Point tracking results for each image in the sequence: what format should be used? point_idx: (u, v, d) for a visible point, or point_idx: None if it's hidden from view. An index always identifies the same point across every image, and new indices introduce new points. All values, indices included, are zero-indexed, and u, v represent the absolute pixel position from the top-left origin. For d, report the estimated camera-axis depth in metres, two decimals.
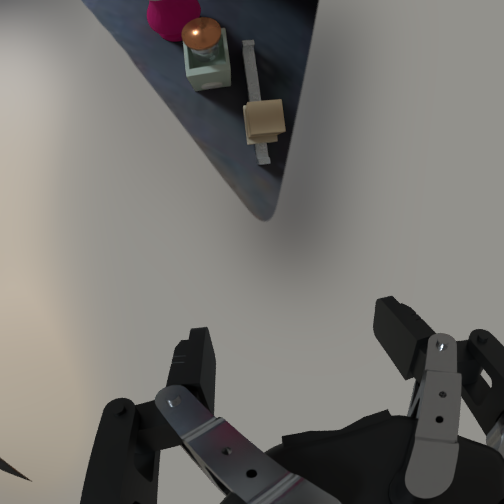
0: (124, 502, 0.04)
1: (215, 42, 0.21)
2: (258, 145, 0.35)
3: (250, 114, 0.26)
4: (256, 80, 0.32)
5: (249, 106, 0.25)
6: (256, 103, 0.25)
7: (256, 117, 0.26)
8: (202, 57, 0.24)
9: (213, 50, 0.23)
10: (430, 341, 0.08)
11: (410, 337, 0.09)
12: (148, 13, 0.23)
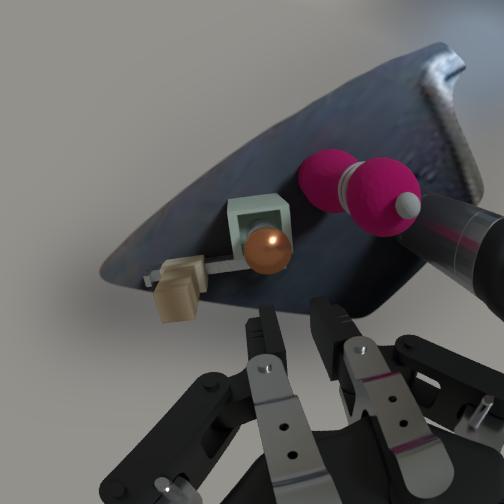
0: (169, 471, 0.05)
1: None
2: None
3: (173, 292, 0.26)
4: (237, 268, 0.35)
5: (182, 291, 0.26)
6: (186, 297, 0.26)
7: (171, 298, 0.26)
8: (246, 235, 0.26)
9: None
10: (346, 348, 0.09)
11: (329, 337, 0.10)
12: (334, 155, 0.26)
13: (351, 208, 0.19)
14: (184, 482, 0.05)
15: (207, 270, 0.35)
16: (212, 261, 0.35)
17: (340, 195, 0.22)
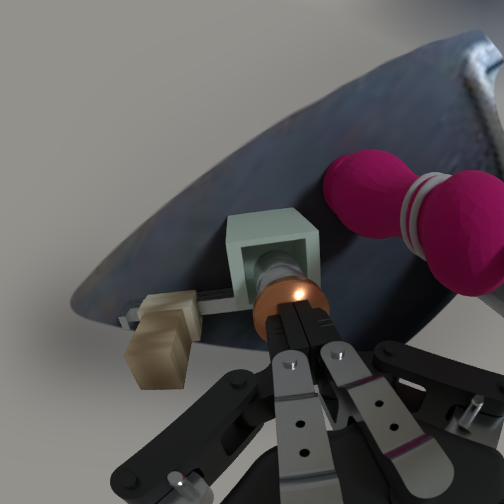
0: (185, 465, 0.05)
1: None
2: None
3: (151, 356, 0.17)
4: None
5: (163, 356, 0.17)
6: (170, 363, 0.17)
7: (149, 363, 0.17)
8: (255, 279, 0.17)
9: None
10: (324, 355, 0.09)
11: (308, 342, 0.10)
12: (381, 159, 0.17)
13: (435, 255, 0.10)
14: (198, 478, 0.05)
15: (201, 310, 0.26)
16: (207, 298, 0.26)
17: (404, 224, 0.13)
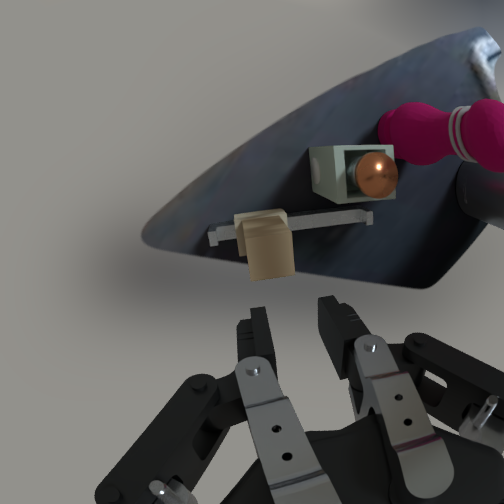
0: (163, 473, 0.05)
1: (363, 191, 0.21)
2: (233, 228, 0.29)
3: (273, 236, 0.21)
4: (319, 224, 0.30)
5: (285, 235, 0.21)
6: (289, 244, 0.21)
7: (269, 245, 0.21)
8: None
9: (352, 182, 0.23)
10: (357, 346, 0.09)
11: (339, 336, 0.10)
12: (425, 106, 0.21)
13: (477, 139, 0.14)
14: (178, 484, 0.05)
15: None
16: (291, 216, 0.30)
17: (452, 133, 0.17)
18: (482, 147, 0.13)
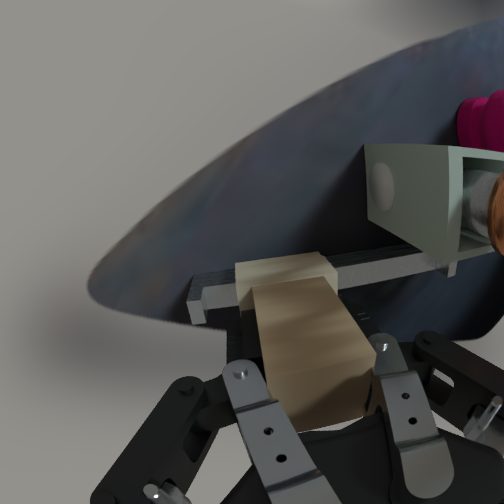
0: (156, 477, 0.05)
1: (499, 247, 0.08)
2: (233, 289, 0.16)
3: (335, 367, 0.08)
4: (378, 278, 0.17)
5: (361, 361, 0.08)
6: (366, 375, 0.08)
7: (323, 382, 0.08)
8: None
9: (462, 220, 0.10)
10: None
11: None
12: None
13: None
14: (172, 487, 0.05)
15: None
16: (335, 265, 0.17)
17: None
18: None
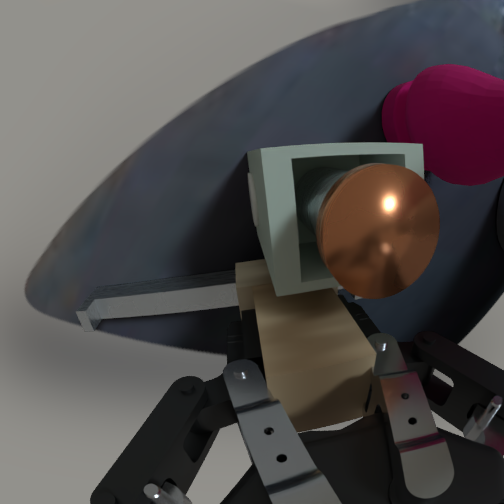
0: (156, 477, 0.05)
1: None
2: (118, 302, 0.16)
3: (335, 367, 0.08)
4: None
5: (361, 361, 0.08)
6: (366, 375, 0.08)
7: (323, 382, 0.08)
8: (302, 200, 0.10)
9: None
10: None
11: None
12: (473, 69, 0.08)
13: None
14: (172, 487, 0.05)
15: (202, 302, 0.16)
16: (213, 283, 0.16)
17: None
18: None
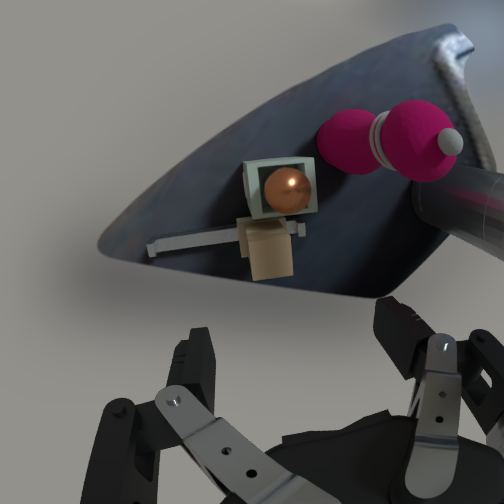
0: (124, 502, 0.04)
1: (272, 207, 0.23)
2: (171, 240, 0.31)
3: (274, 240, 0.23)
4: None
5: (284, 239, 0.23)
6: (288, 247, 0.23)
7: (270, 247, 0.23)
8: (264, 183, 0.26)
9: None
10: (430, 340, 0.08)
11: (410, 336, 0.09)
12: (358, 112, 0.23)
13: (390, 147, 0.16)
14: None
15: (218, 238, 0.32)
16: (224, 228, 0.32)
17: (372, 142, 0.19)
18: (396, 156, 0.16)
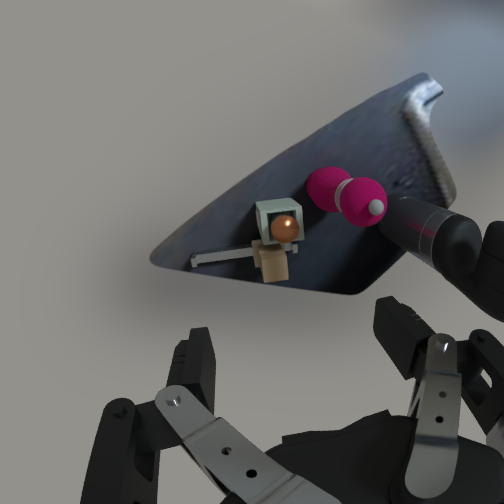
0: (124, 502, 0.04)
1: None
2: (206, 255, 0.47)
3: (276, 258, 0.39)
4: None
5: (283, 257, 0.39)
6: (285, 262, 0.39)
7: (274, 263, 0.39)
8: (270, 221, 0.41)
9: None
10: (430, 341, 0.08)
11: (410, 336, 0.09)
12: (333, 172, 0.39)
13: (342, 209, 0.31)
14: None
15: (239, 254, 0.47)
16: (243, 247, 0.47)
17: (336, 200, 0.34)
18: (345, 214, 0.31)
